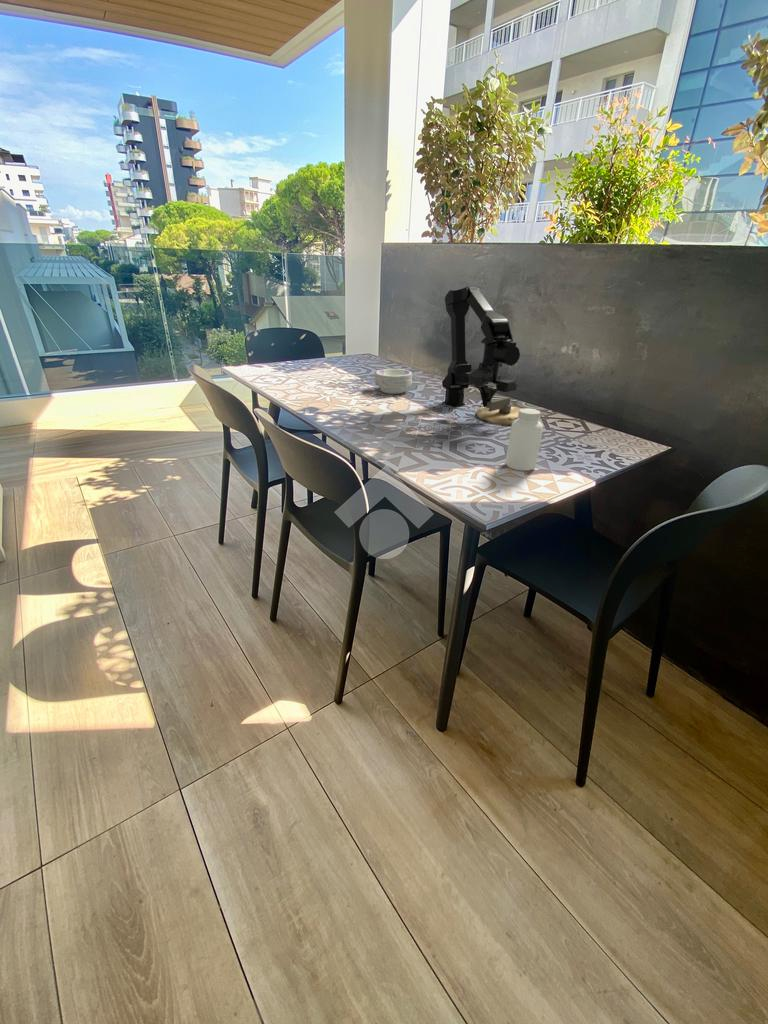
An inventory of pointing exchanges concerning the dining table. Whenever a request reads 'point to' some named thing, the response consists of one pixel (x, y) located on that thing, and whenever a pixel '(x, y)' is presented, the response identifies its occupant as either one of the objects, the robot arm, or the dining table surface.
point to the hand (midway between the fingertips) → (485, 406)
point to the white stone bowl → (393, 380)
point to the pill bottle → (524, 440)
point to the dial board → (499, 416)
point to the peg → (499, 405)
